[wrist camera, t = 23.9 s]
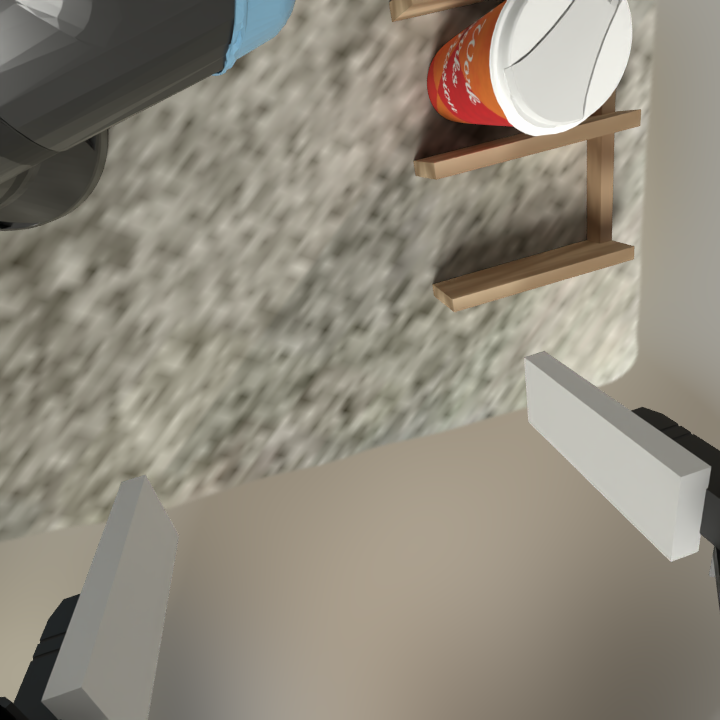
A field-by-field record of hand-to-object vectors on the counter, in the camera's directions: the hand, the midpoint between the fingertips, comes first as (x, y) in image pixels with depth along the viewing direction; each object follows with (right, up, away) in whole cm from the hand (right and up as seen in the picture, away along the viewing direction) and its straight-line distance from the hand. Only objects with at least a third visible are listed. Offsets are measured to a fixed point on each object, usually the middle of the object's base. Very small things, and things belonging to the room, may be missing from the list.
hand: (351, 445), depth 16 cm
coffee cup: (+9, +26, +23) cm, 35 cm away
